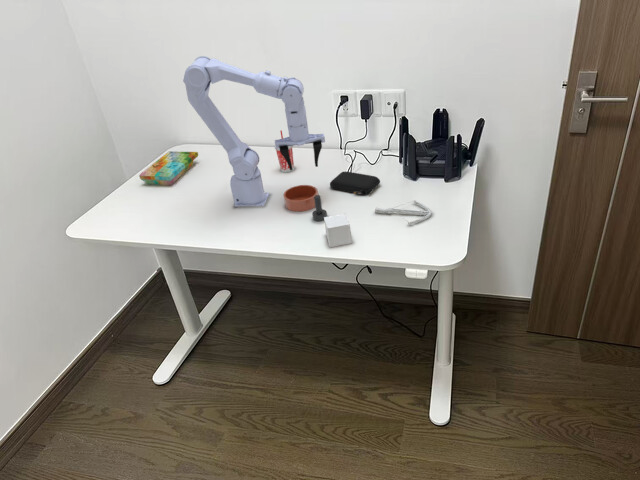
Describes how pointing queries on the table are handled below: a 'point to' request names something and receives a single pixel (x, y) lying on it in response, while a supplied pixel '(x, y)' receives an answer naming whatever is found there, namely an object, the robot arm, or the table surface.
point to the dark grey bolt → (318, 210)
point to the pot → (300, 198)
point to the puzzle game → (168, 168)
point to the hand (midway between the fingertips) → (303, 167)
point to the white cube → (338, 230)
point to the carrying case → (355, 183)
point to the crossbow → (407, 212)
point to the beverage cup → (282, 161)
